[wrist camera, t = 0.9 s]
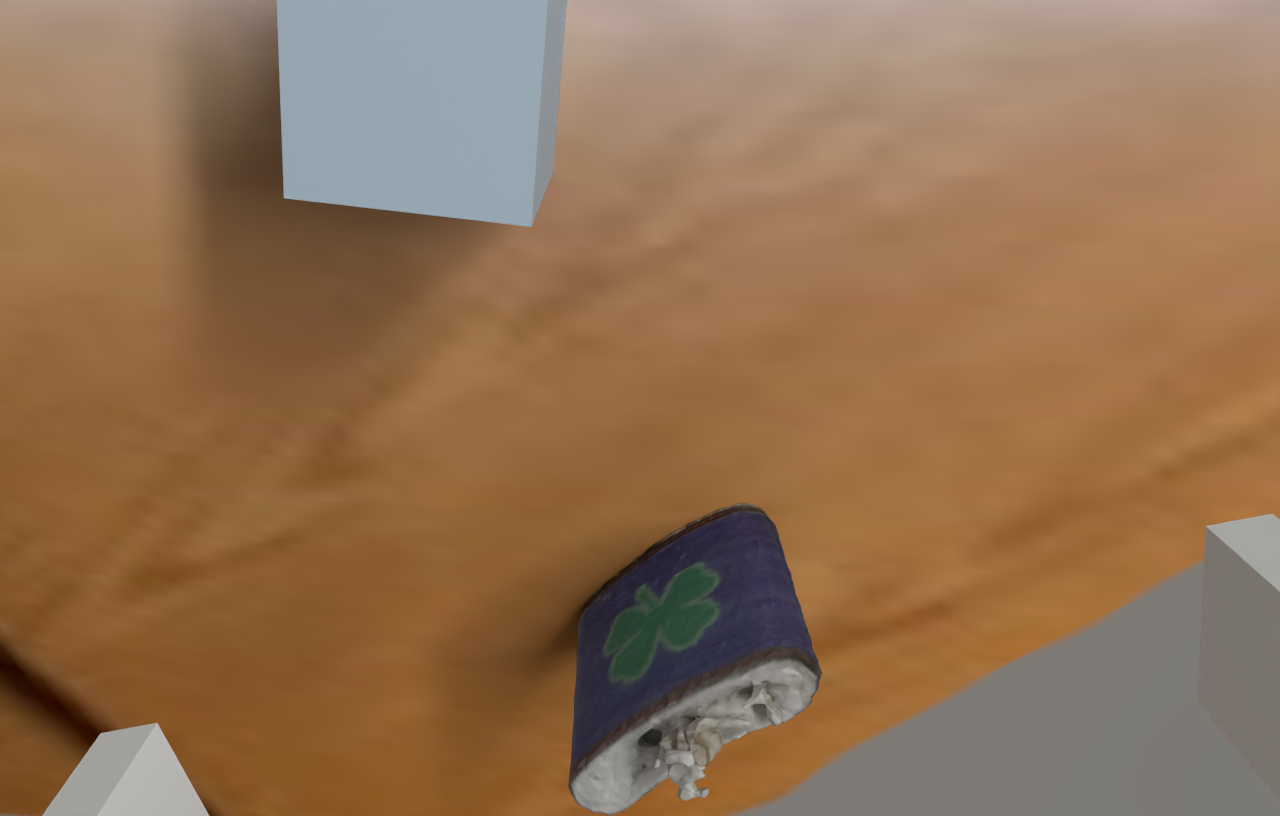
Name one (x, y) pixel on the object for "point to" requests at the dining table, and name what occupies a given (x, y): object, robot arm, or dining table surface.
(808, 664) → the flask
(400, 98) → the slate block
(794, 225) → the dining table surface
